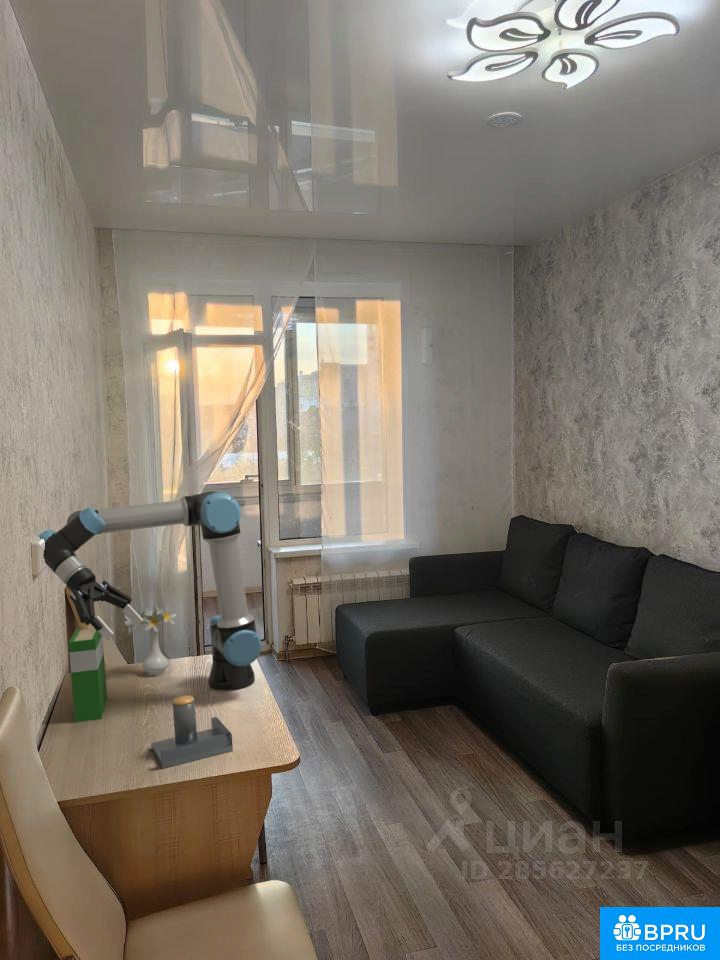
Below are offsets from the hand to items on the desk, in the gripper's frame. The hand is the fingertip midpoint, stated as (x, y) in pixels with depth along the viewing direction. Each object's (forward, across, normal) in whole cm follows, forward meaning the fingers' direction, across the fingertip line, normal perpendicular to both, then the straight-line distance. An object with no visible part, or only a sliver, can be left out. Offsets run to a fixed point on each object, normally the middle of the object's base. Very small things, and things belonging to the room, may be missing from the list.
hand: (125, 630), depth 203 cm
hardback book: (+4, -14, -39) cm, 41 cm away
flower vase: (+4, -48, -39) cm, 62 cm away
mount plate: (+36, +6, -6) cm, 37 cm away
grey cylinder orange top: (+34, +6, -6) cm, 35 cm away
